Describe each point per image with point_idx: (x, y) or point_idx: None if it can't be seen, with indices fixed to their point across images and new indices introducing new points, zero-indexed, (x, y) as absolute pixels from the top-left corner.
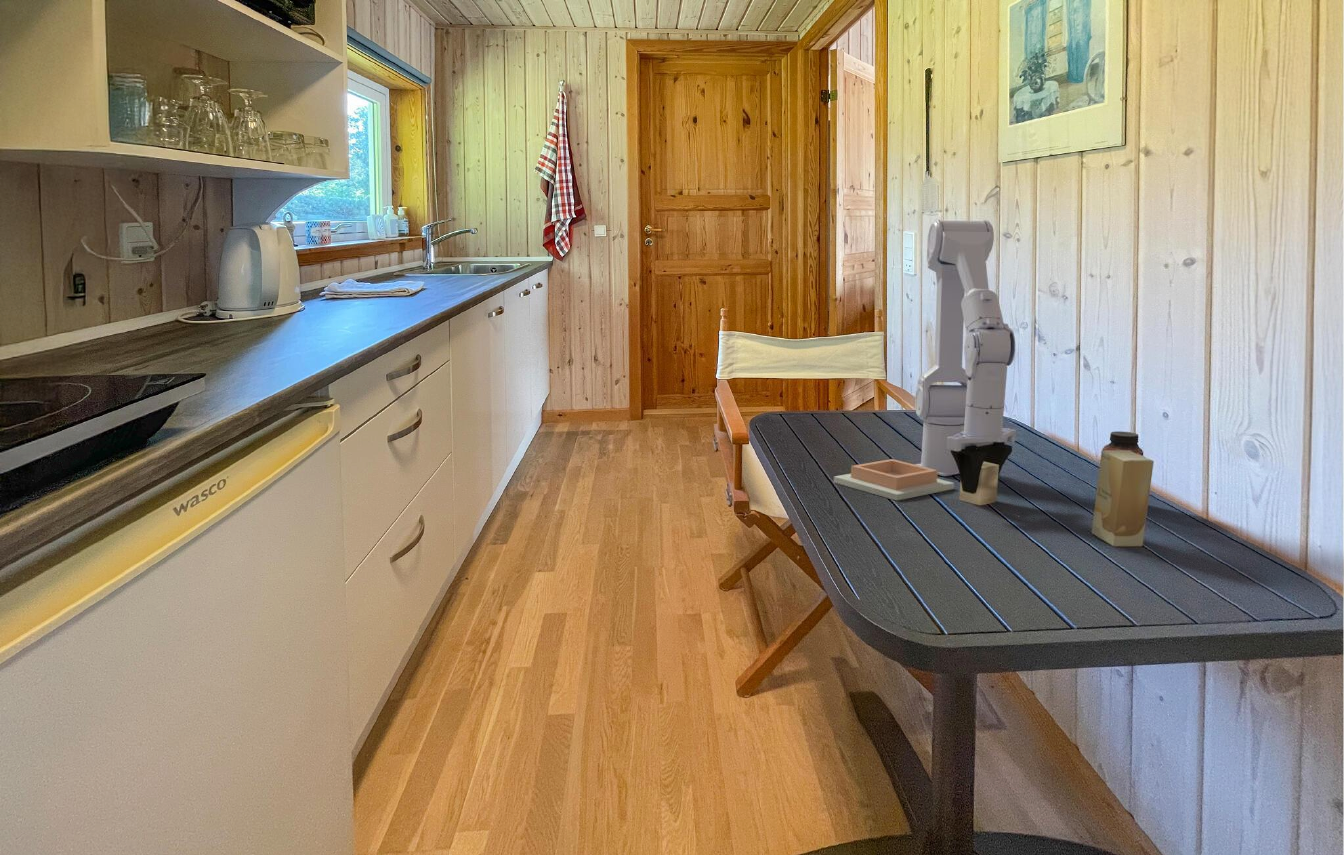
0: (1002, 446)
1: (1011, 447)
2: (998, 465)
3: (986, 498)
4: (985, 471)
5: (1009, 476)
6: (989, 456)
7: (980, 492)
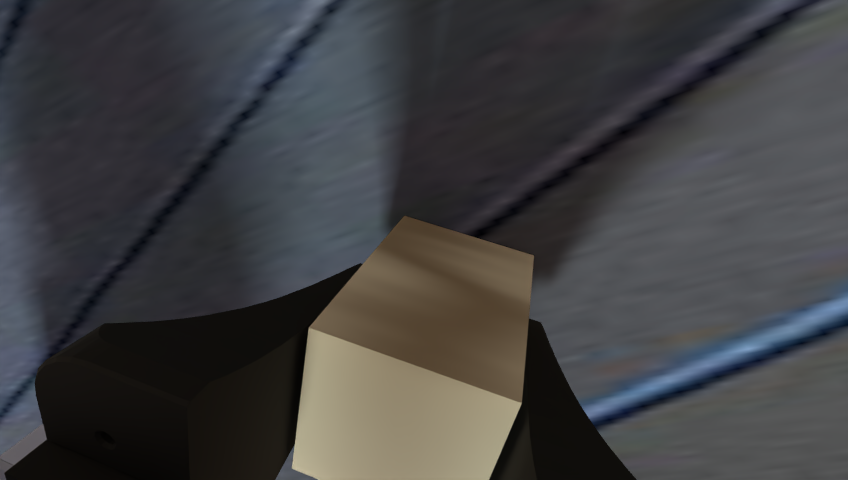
0: (148, 441)
1: (83, 357)
2: (315, 327)
3: (478, 253)
4: (485, 365)
5: (13, 297)
6: (266, 439)
7: (528, 293)
